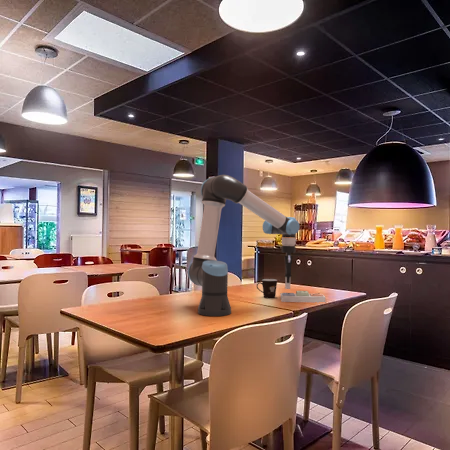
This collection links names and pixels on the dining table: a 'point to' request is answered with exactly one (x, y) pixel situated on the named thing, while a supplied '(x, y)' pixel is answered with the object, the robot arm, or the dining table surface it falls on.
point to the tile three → (316, 294)
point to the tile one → (288, 294)
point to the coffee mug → (268, 288)
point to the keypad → (302, 298)
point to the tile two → (302, 293)
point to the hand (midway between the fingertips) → (287, 288)
